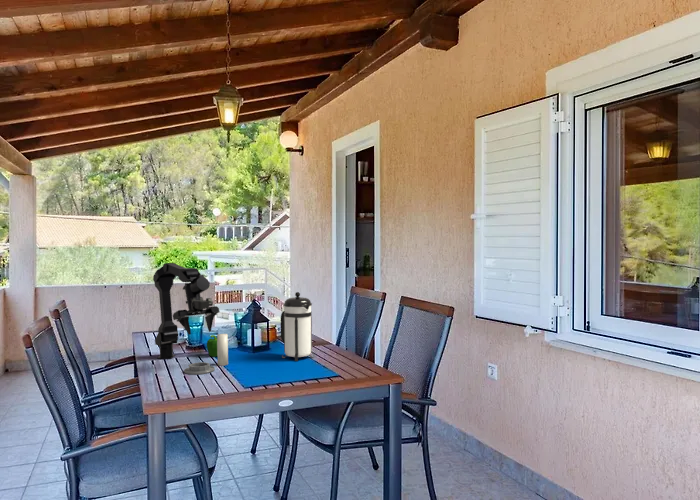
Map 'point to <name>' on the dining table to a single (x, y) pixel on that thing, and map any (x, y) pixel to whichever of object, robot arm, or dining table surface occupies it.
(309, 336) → the coffee press
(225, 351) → the candle
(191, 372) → the holder
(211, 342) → the bell pepper
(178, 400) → the dining table surface
